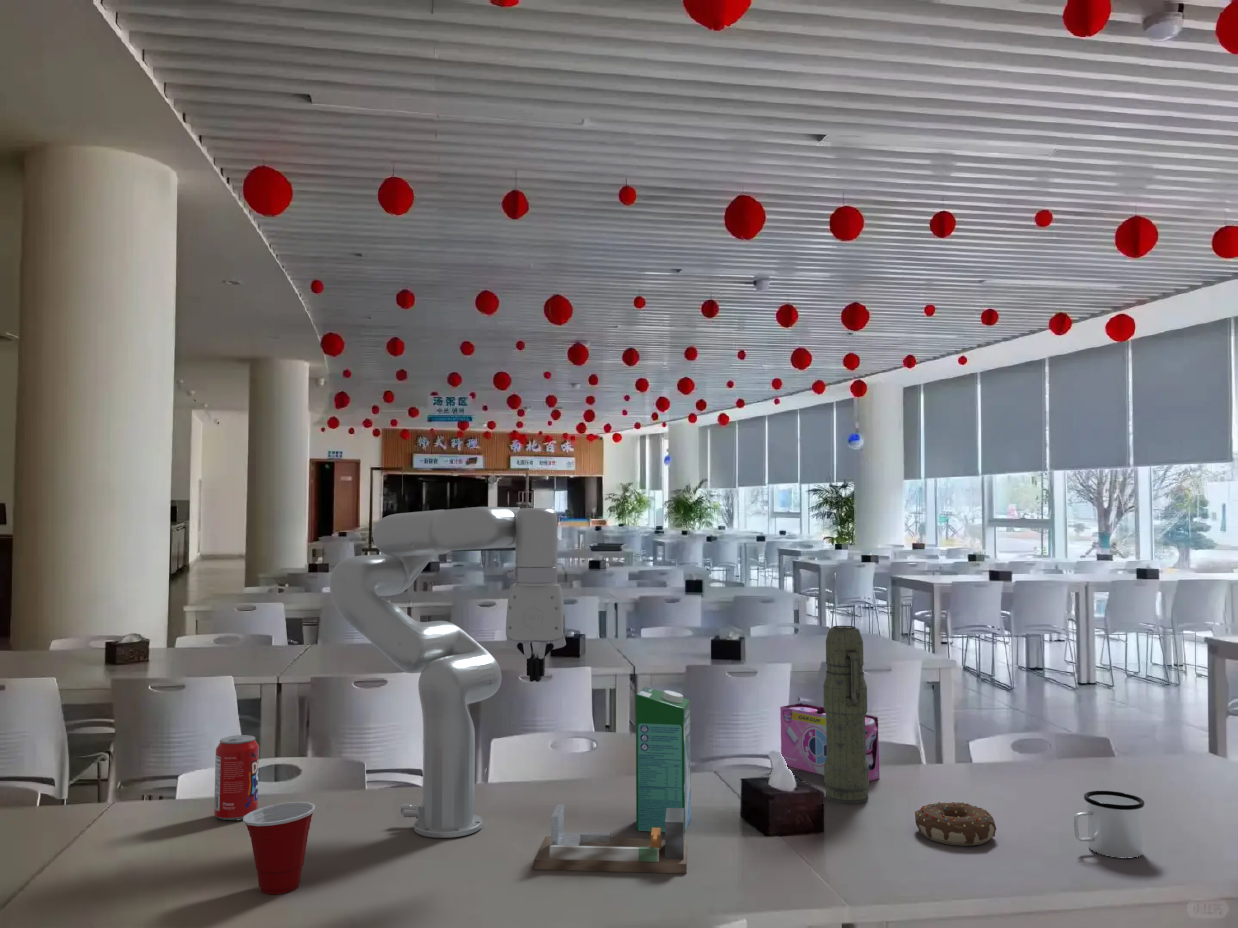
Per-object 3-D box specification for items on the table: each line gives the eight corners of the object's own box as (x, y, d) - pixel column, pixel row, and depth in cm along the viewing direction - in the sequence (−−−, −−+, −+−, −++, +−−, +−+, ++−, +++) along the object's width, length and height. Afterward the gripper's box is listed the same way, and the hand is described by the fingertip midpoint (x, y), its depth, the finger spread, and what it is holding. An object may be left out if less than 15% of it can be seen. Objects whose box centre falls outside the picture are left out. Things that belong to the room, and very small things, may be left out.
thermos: (851, 788, 207) (849, 623, 210) (880, 803, 196) (877, 629, 198) (814, 791, 205) (811, 624, 207) (840, 807, 194) (838, 630, 196)
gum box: (886, 780, 214) (884, 717, 215) (864, 786, 209) (863, 722, 210) (801, 759, 233) (800, 702, 234) (779, 765, 228) (778, 706, 229)
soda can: (204, 820, 186) (206, 740, 187) (235, 808, 193) (236, 732, 194) (236, 824, 183) (238, 744, 184) (266, 813, 190) (267, 735, 191)
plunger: (550, 853, 162) (551, 816, 162) (557, 839, 169) (557, 804, 169) (608, 854, 161) (608, 817, 161) (612, 840, 168) (611, 805, 168)
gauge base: (533, 869, 159) (534, 822, 160) (545, 845, 171) (545, 801, 172) (686, 873, 157) (686, 826, 158) (687, 848, 169) (686, 804, 170)
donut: (1007, 836, 176) (1006, 808, 177) (977, 855, 166) (976, 825, 167) (932, 819, 186) (931, 793, 186) (899, 837, 176) (899, 809, 176)
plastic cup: (252, 876, 157) (254, 800, 157) (321, 874, 157) (322, 798, 158) (231, 902, 146) (233, 821, 146) (305, 899, 147) (306, 818, 147)
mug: (1123, 841, 173) (1121, 789, 173) (1159, 859, 164) (1157, 804, 164) (1060, 844, 172) (1058, 791, 172) (1092, 862, 162) (1090, 807, 163)
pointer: (650, 856, 159) (650, 838, 159) (652, 841, 166) (652, 825, 166) (659, 856, 159) (659, 839, 159) (661, 842, 166) (661, 825, 166)
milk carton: (684, 834, 177) (683, 695, 179) (636, 831, 179) (635, 693, 181) (690, 819, 186) (690, 687, 188) (644, 816, 188) (644, 685, 189)
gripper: (490, 577, 171) (489, 683, 170) (574, 578, 169) (574, 684, 168) (499, 575, 178) (499, 676, 177) (580, 576, 177) (580, 677, 176)
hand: (535, 680), depth 173 cm, fingers closed
